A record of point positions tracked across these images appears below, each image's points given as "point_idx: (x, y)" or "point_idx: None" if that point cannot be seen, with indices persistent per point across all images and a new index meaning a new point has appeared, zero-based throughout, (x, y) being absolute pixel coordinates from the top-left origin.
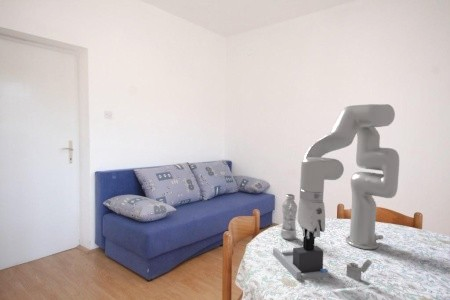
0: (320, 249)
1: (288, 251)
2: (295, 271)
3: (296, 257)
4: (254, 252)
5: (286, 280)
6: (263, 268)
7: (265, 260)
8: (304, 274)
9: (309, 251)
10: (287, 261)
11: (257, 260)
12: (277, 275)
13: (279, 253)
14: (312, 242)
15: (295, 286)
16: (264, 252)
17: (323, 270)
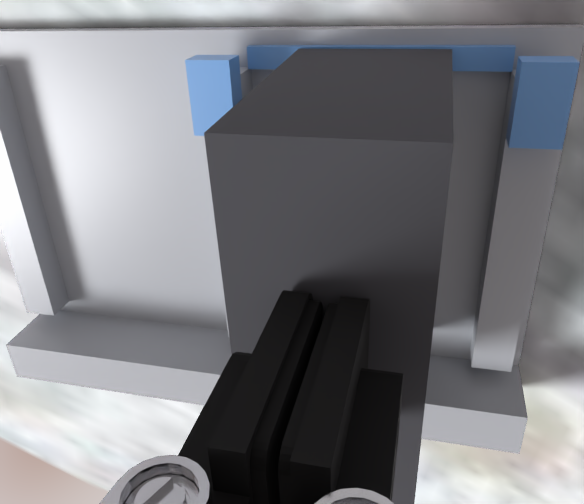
0: (396, 171)
1: (9, 214)
2: (489, 444)
3: None
4: (14, 415)
5: None
6: None
7: (139, 411)
8: (505, 340)
9: (408, 384)
10: None
11: (139, 455)
12: None
13: (122, 383)
14: (392, 466)
15: (574, 430)
16: (4, 354)
17: (559, 130)
